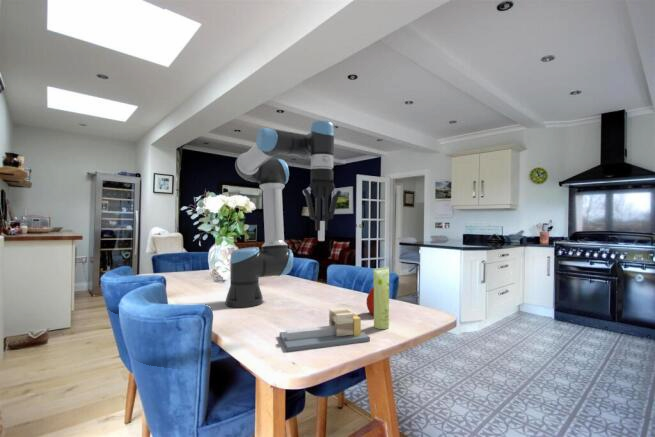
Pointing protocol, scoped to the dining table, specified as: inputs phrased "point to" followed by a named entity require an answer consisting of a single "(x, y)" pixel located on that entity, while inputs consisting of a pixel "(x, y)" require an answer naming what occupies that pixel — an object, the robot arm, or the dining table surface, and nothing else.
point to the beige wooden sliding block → (341, 321)
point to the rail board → (321, 337)
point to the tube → (381, 298)
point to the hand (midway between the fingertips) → (321, 240)
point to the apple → (370, 301)
